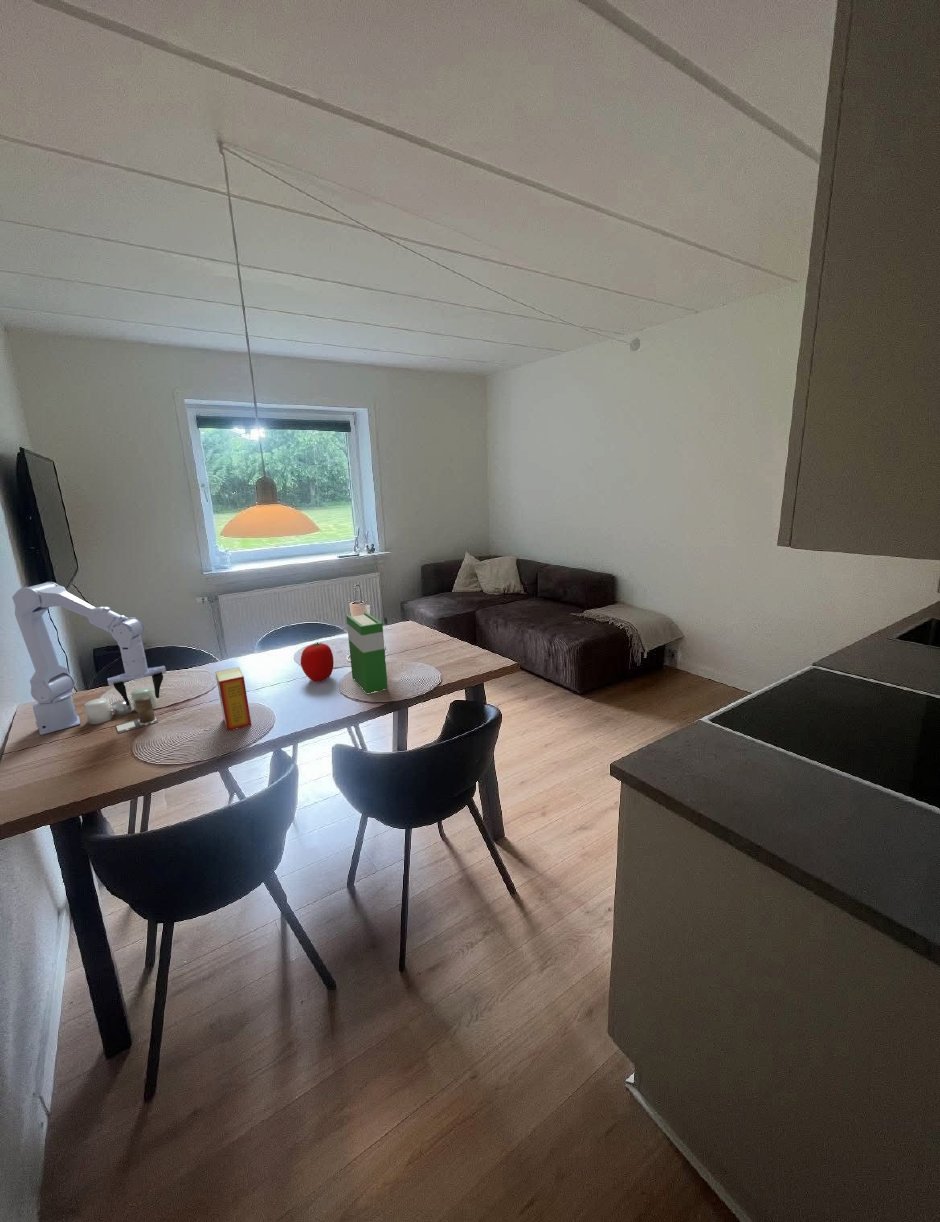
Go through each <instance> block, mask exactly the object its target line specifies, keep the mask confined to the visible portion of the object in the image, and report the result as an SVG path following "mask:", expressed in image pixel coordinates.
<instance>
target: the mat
mask: <svg viewBox="0 0 940 1222" xmlns="http://www.w3.org/2000/svg"><path fill="white" fill-rule="evenodd" d="M157 723H159V721H158V719H157V718H156V716H155V719H154V720H153V721H151V722H148V723H140V721H139V718H136V719H133V720H129V721H125V722H121V723H118V724H115V727H116V730H117V733H118V734H122V733H127V732H130V731H133V730H137V729H140V728H143V727H146V726H147V727H148V726H150V725H154V724H157Z"/></svg>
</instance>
